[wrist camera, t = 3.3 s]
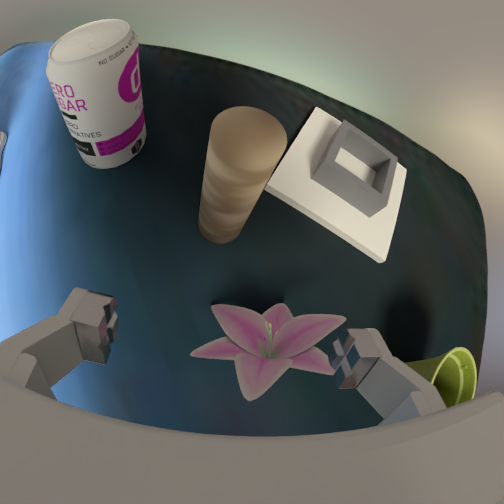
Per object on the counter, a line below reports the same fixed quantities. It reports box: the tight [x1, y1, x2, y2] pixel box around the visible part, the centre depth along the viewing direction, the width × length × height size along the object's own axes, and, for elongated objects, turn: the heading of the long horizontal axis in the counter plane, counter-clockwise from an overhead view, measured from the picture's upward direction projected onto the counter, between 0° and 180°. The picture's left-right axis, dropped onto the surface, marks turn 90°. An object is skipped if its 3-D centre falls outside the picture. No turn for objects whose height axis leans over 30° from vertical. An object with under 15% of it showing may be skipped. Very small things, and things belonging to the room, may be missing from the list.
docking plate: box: [264, 107, 407, 263], centre depth 31 cm, size 16×16×5 cm
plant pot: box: [405, 347, 476, 408], centre depth 23 cm, size 9×9×9 cm
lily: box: [190, 303, 346, 401], centre depth 22 cm, size 12×12×10 cm
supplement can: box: [46, 19, 147, 169], centre depth 21 cm, size 8×8×15 cm
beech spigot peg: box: [198, 106, 287, 244], centre depth 21 cm, size 4×4×14 cm
